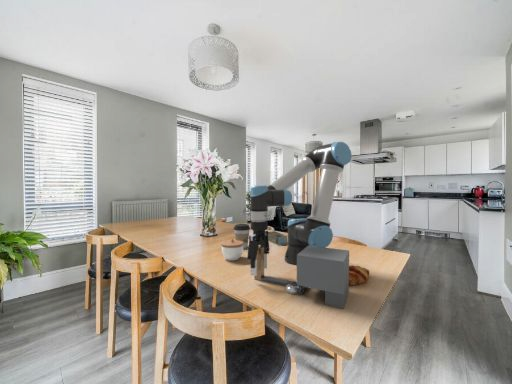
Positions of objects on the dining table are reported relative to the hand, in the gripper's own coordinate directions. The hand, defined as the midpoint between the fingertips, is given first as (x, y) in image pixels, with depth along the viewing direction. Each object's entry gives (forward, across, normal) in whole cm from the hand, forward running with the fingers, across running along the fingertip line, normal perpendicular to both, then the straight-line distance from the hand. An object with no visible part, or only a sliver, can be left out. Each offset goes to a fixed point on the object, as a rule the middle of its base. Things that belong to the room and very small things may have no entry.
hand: (259, 271), depth 103 cm
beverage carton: (+4, +66, +20) cm, 70 cm away
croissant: (+4, +18, -38) cm, 42 cm away
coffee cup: (+4, +41, +34) cm, 54 cm away
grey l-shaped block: (+3, -2, -28) cm, 29 cm away
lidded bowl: (+4, +18, +26) cm, 32 cm away
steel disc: (+4, -5, -17) cm, 18 cm away
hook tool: (+3, -2, -10) cm, 11 cm away
